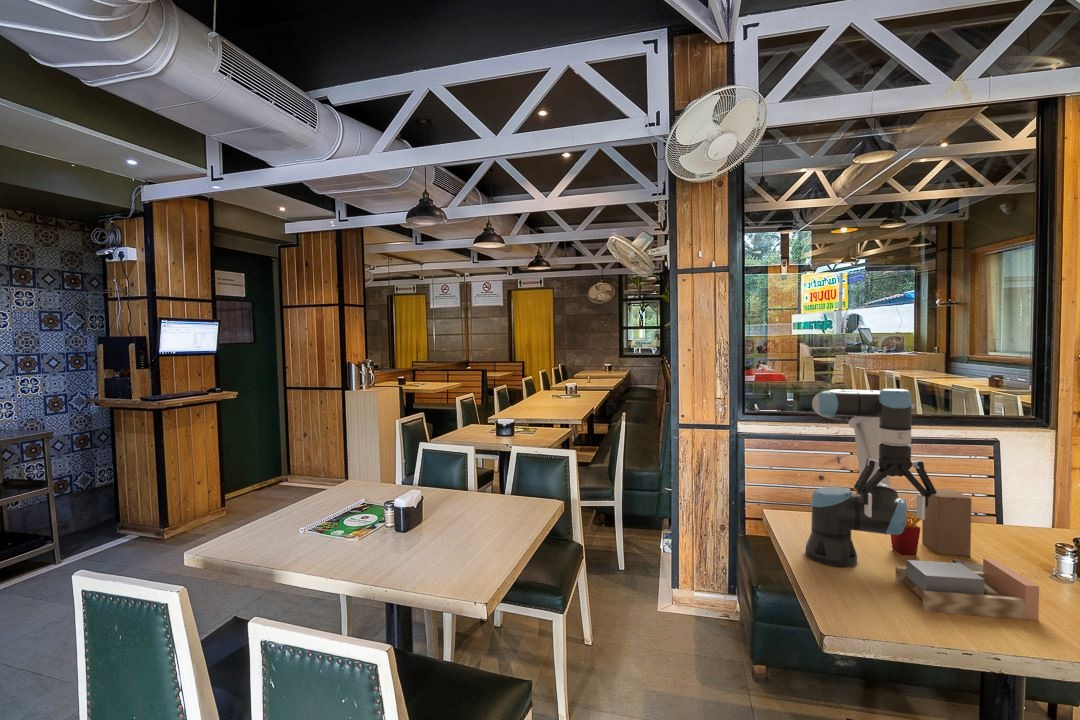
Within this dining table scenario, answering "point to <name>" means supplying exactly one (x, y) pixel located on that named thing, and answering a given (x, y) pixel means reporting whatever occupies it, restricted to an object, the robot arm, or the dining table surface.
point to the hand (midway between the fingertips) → (894, 516)
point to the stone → (970, 565)
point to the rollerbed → (966, 600)
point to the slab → (944, 577)
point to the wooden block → (948, 523)
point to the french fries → (907, 537)
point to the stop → (1012, 586)
